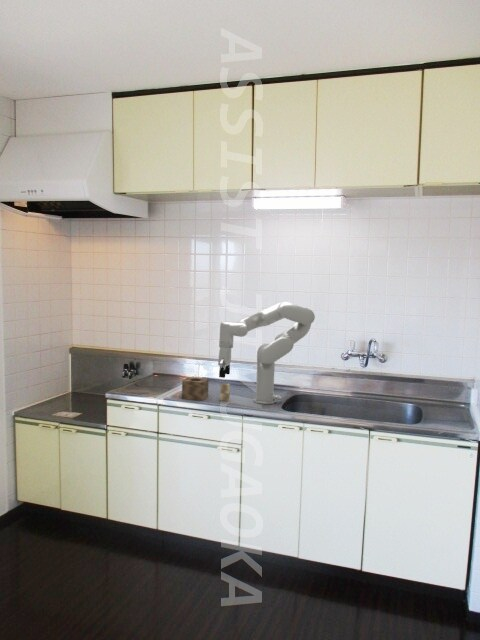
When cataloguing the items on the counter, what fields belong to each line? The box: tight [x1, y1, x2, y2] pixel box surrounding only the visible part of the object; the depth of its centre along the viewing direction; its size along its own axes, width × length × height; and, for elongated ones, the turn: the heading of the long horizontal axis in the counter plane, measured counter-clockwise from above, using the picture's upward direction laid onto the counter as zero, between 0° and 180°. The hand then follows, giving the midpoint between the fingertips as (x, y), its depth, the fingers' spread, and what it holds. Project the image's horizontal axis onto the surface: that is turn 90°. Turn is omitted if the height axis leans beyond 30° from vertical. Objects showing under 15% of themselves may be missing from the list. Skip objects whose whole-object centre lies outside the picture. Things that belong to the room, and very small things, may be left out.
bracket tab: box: [219, 382, 231, 402], centre depth 282 cm, size 4×3×9 cm
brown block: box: [181, 376, 210, 401], centre depth 286 cm, size 12×10×10 cm
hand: (224, 375), depth 281 cm, fingers open, 9 cm apart
